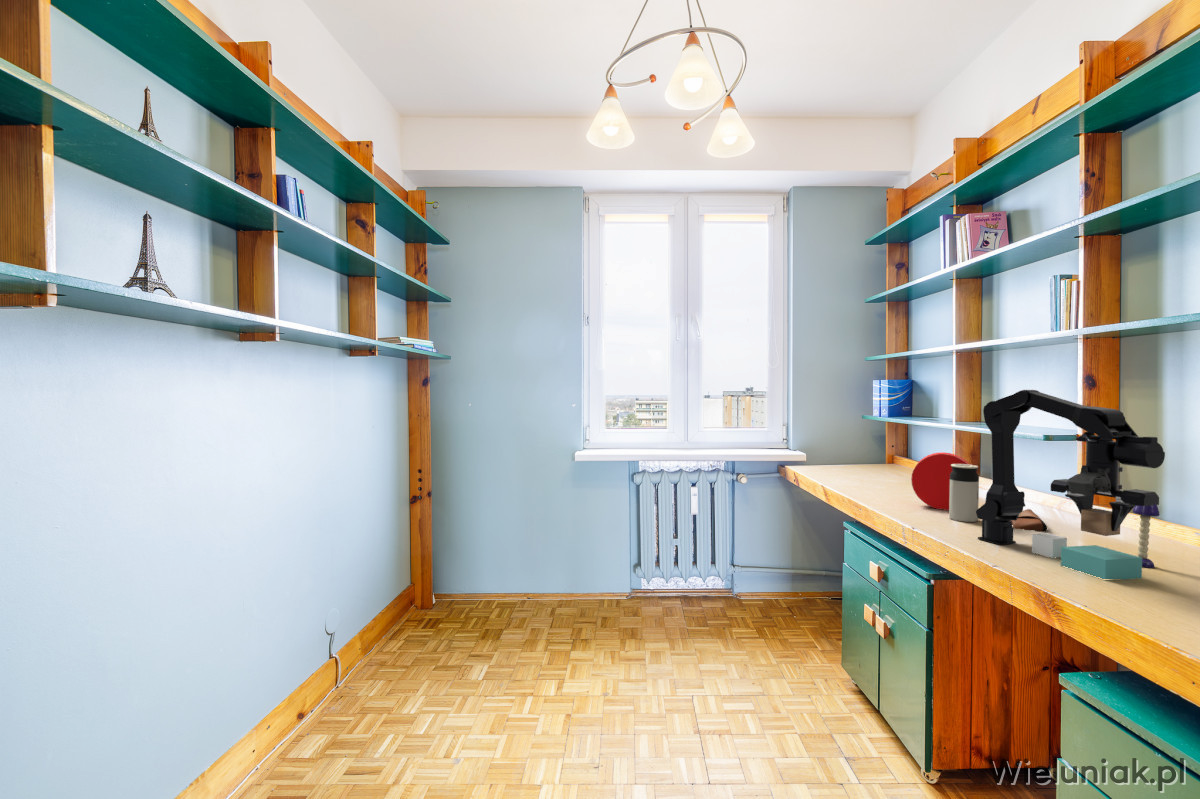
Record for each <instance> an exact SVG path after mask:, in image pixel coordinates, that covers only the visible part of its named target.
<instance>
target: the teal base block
mask: <svg viewBox="0 0 1200 799" xmlns="http://www.w3.org/2000/svg"><path fill="white" fill-rule="evenodd" d="M1061 565H1062V566H1065V567H1068V568H1072V569H1074V570H1077V571H1081V572H1084V573H1087V574H1090V575H1093V576H1096V577H1100V578H1102V579H1122V580H1136V578H1138V579H1142V578H1143V576H1142V575H1143V567H1142V558H1141V557H1138V555H1133V554H1130V553H1126V552H1122V551H1118V550H1116V549H1112V548H1111V549H1110V548H1109V547H1108V548H1107V547H1104V546H1101V545H1097V544H1095V545H1093V544H1092V545H1091V544H1090V545H1073V546H1067V547H1061V557H1060V566H1061ZM1062 566H1061V567H1062ZM1065 567H1064V568H1065ZM1068 568H1067V569H1068ZM1074 570H1073V571H1074ZM1077 571H1076V572H1077ZM1093 576H1092V577H1093ZM1096 577H1095V578H1096ZM1134 578H1135V579H1134ZM1102 579H1101V580H1102Z"/></svg>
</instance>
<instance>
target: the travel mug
mask: <svg viewBox="0 0 1200 799" xmlns="http://www.w3.org/2000/svg"><path fill="white" fill-rule="evenodd" d="M951 466H952V472H951V473H950V497H949V510H948V517H949V518H950V519H951V520H953V521H956V520H957V521H956V522H961V521H963V522H962V523H977V522H978V521H979V519H978V517H977V514H976V510H978V509H979V502H980V501H979V498H980V497H979V496H980V492H979V490H980V488H979V487H980V476H979V474H978V468H979V465H974V464H970V465H968V464H951Z"/></svg>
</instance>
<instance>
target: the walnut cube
mask: <svg viewBox="0 0 1200 799" xmlns="http://www.w3.org/2000/svg"><path fill="white" fill-rule="evenodd" d="M1111 519H1112V510H1106V509H1102V508H1095V507H1094V508H1093V509H1084V510H1081V514H1080V531H1082V532H1086V533H1090V534H1095V535H1099V536H1104V537H1108V536H1109V537H1111V536H1117V535H1121V525H1120V526H1119V528H1118V529H1117V531H1112V528H1111Z"/></svg>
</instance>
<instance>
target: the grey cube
mask: <svg viewBox="0 0 1200 799" xmlns="http://www.w3.org/2000/svg"><path fill="white" fill-rule="evenodd" d="M1067 541H1068V538H1067V537H1065V536H1060V535H1056V534H1052V533H1048V532H1040V533H1032V536H1031V554H1035V553H1036V554H1035V555H1038V554H1040V555H1039V556H1042V555H1044V556H1043V557H1046V556H1047V557H1046V558H1049V557H1051V558H1050V559H1056V558H1055V557H1060V558H1061V547H1068V544H1067Z"/></svg>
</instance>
